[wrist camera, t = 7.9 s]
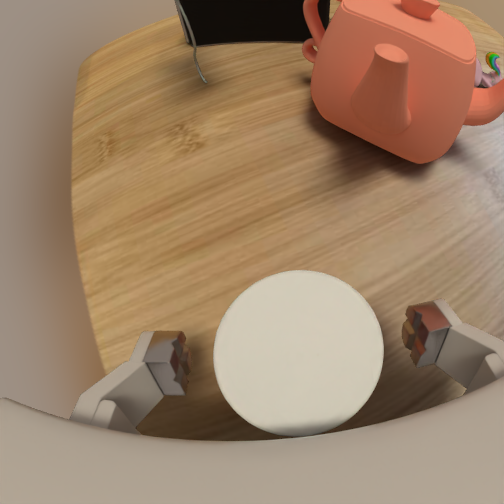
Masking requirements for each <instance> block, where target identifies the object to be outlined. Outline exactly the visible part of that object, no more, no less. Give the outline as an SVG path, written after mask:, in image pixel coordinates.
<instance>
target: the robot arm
mask: <svg viewBox="0 0 504 504" xmlns="http://www.w3.org/2000/svg"><path fill="white" fill-rule="evenodd" d="M405 315H406V316H407V318H408V319H407V320H406V321H405V322H404V323H403V327H402V339H403V343H404V345H405V347H406V348H408V349H409V350H411V354H410V357H411V359H412V361H413V363H414V365H415V367H416V368H419V367H423V366H427V365H431V364H435V365H436V366H438V367H439V368H440V369H442V370H443V371H444V372H446V373H447V374H448V375H449V376H451V377H452V378H453V379H455V380H456V381H457V382H459V383H460V384H461V385H463V386H464V387H465V388H467V390H466V391H465V393H464V394H463V396H461V397H458V398H456V399H453V400H451V401H448V402H446V403H443V404H440V405H438V406H435V407H432V408H429V409H426V410H423V411H420V412H417V413H414V414H411V415H407V416H404V417H400V418H397V419H393V420H390V421H386V422H382V423H378V424H374V425H369V426H365V427H360V428H355V429H350V430H345V431H340V432H334V433H328V434H321V435H314V436H306V437H298V438H288V439H276V440H259V441H201V440H184V439H172V438H162V437H153V436H146V435H141V434H140V432H139V431H138V430H137V429H136V428H135V427H136V426H137V425H138V424H139V423H140V422H141V421H142V420H143V419H144V418H145V417H146V416H147V414H148V413H149V412H150V411H151V410H152V409H153V408H154V407H155V406H156V405H157V404H158V402H159V401H160V400H161V399H162V398H163V397H164V395H186V392H187V387H188V383H189V381H188V378H187V375H188V374H189V373H190V372H191V369H192V355H191V351H190V348H189V347H188V346H186V345H185V341H186V337H185V335H184V332H182V331H143V332H142V333H141V335H140V337H139V339H138V342H137V344H136V346H135V348H134V351H133V353H132V355H131V357H130V360H129V362H126V361H125V362H124V363H123V364H121V365H120V366H119V367H117V368H116V369H114V370H113V371H112V372H110V373H109V374H108V375H106V376H105V377H104V378H103V379H101V380H100V381H98V382H97V383H96V384H94V385H93V386H92V387H90V388H89V389H88V390H86V391H85V392H84V393H82V394H81V395H80V398H79V399H78V402H77V404H76V406H75V408H74V410H73V413H72V415H71V417H70V419H69V420H68V419H64V418H61V417H58V416H55V415H52V414H48V413H45V412H42V411H40V410H37V409H34V408H31V407H28V406H26V405H23V404H20V403H18V402H16V401H13V400H11V399H8V398H0V504H504V341H503V340H501V339H499V338H497V337H495V336H493V335H491V334H489V333H486V332H484V331H482V330H480V329H478V328H476V327H474V326H472V325H470V324H468V323H462V321H461V320H460V319H459V317H458V316H457V315H456V314H455V312H454V311H453V310H452V308H451V307H450V306H449V305H448V303H447V302H446V301H445V300H444V299H442V298H440V299H436V300H432V301H429V302H424V303H419V304H415V305H410V306H408V308H407V310H406V314H405Z"/></svg>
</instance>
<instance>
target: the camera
mask: <svg viewBox="0 0 504 504" xmlns="http://www.w3.org/2000/svg"><path fill="white" fill-rule="evenodd" d="M304 1H305V0H179V2H180V4H181V6H182V8H183V11H184V13H185V15H186V17H187V19H188V22H189V24H190V27H191V30H192V32H193V35H194V39H195V42H196V47H201V46H209V45H219V44H232V43H250V42H298V43H304V42H305V41H306V40H308V39H310V38H313V37H312V34H311V32H310V30H309V28H308V25H307V23H306V20H305V17H304V13H303V3H304ZM175 4H176V7H177V11H178V14H179V18H180V21H181V25H182V28H183V31H184V35H185V38H186V42H187V43H188V42H189V43H190V44H191V46H192V47H194V46H193V42H192V38H191V35H190V32H189V29H188V27H187V24H186V21H185V19H184V17H183V15H182V12H181V10H180V8H179V6H178V4H177V2H176V0H175ZM317 8H318V14H319V17H320V20H321V22H322V25H323V27H324V29H325V32H326V29H327V27H328V24H329V10H330V0H319V1H318V3H317Z"/></svg>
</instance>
